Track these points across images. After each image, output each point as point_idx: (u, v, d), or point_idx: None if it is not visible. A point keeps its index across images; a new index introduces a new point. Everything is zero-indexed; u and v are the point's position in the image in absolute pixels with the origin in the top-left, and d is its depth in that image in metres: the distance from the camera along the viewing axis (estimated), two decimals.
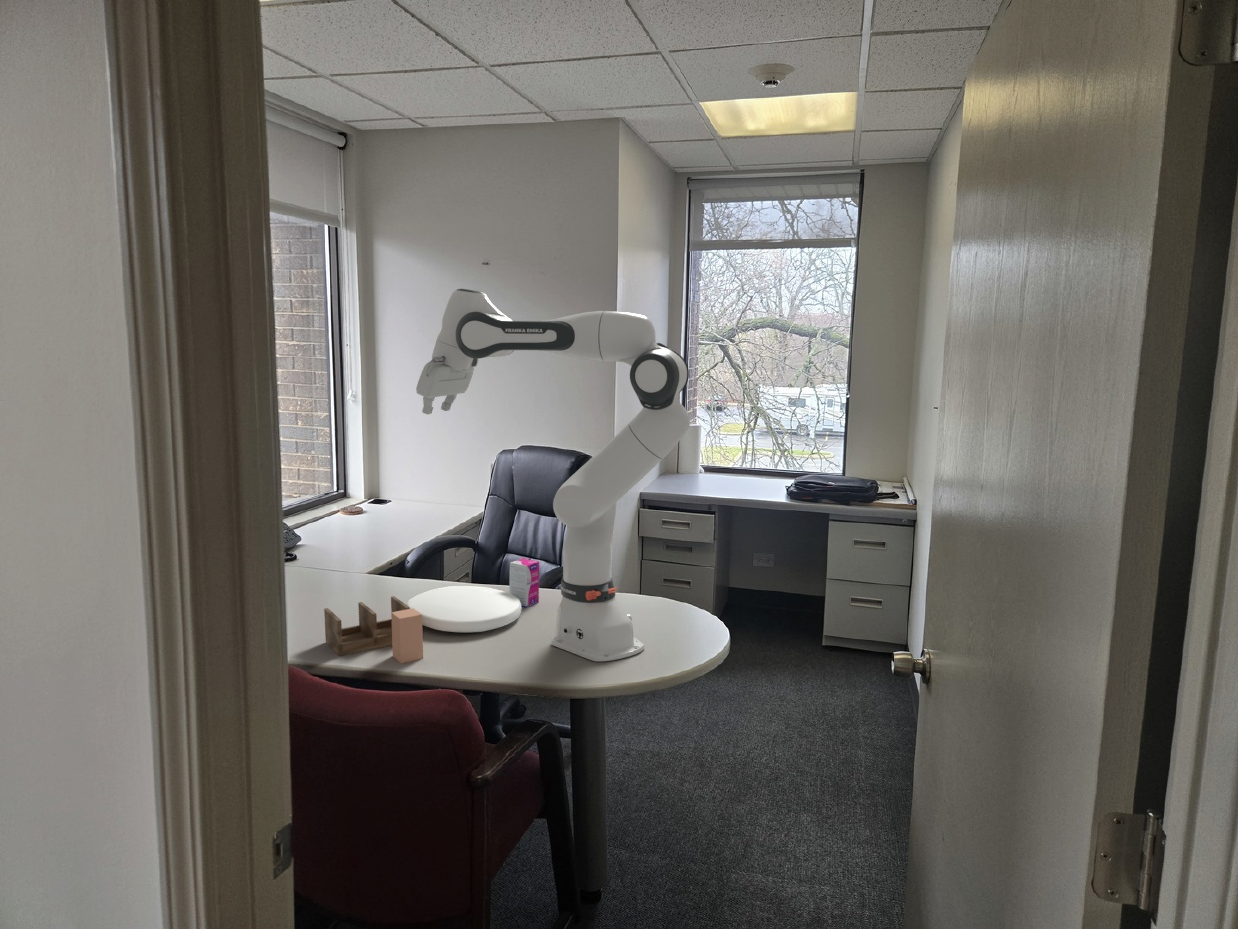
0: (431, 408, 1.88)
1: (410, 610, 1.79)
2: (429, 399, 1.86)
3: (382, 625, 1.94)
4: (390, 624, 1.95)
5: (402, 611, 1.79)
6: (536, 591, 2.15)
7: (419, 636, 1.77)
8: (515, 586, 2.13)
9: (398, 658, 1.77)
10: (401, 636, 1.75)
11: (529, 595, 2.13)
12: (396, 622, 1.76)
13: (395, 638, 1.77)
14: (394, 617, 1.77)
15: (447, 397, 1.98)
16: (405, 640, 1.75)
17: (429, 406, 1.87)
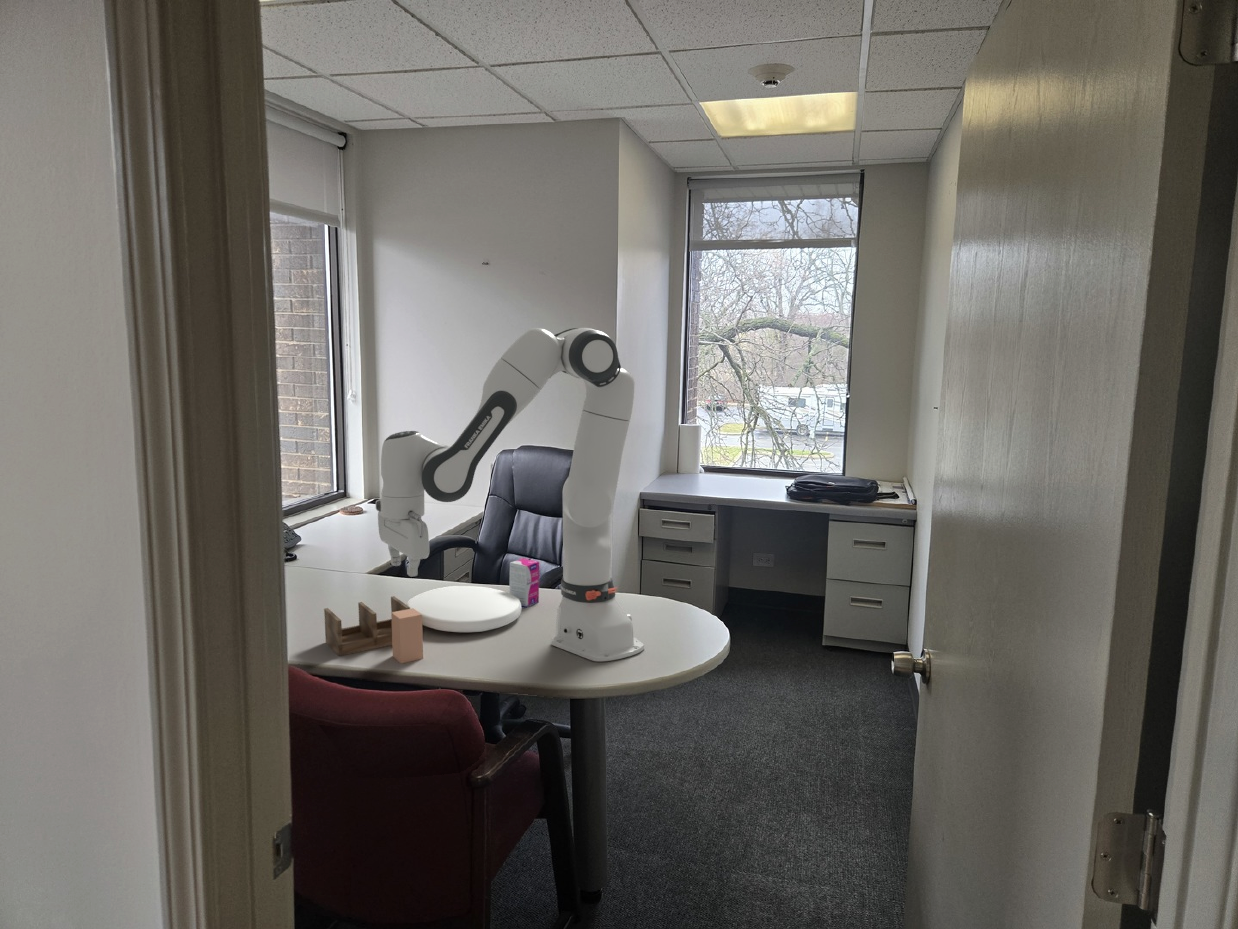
0: None
1: (410, 610, 1.79)
2: (417, 559, 1.71)
3: (382, 625, 1.94)
4: (390, 624, 1.95)
5: (402, 611, 1.79)
6: (536, 591, 2.15)
7: (419, 636, 1.77)
8: (515, 586, 2.13)
9: (398, 658, 1.77)
10: (401, 636, 1.75)
11: (529, 595, 2.13)
12: (396, 622, 1.76)
13: (395, 638, 1.77)
14: (394, 617, 1.77)
15: (391, 551, 1.80)
16: (405, 640, 1.75)
17: (416, 566, 1.71)
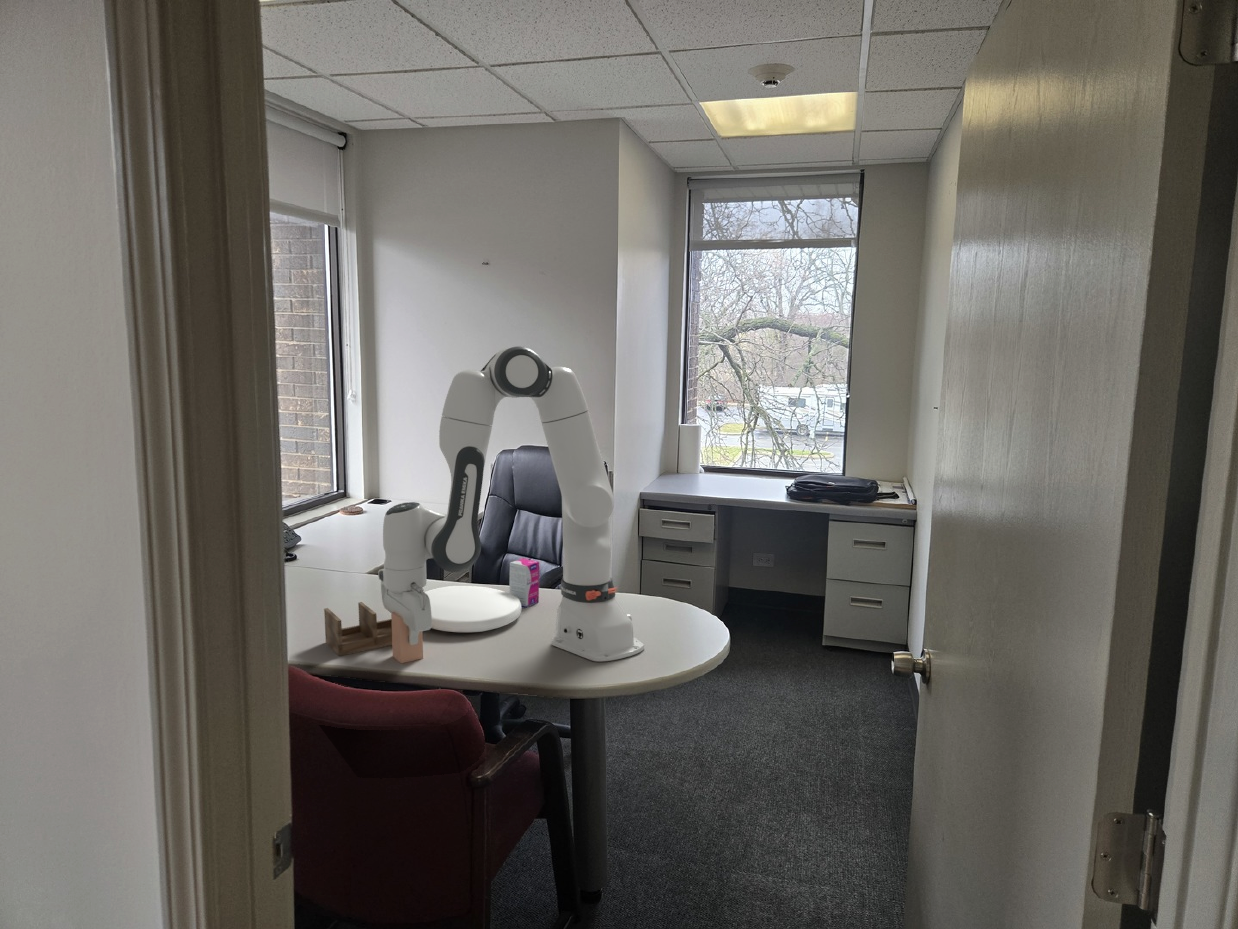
0: None
1: None
2: None
3: (382, 625, 1.94)
4: (390, 624, 1.95)
5: None
6: (536, 591, 2.15)
7: (419, 636, 1.77)
8: (515, 586, 2.13)
9: (398, 658, 1.77)
10: (401, 636, 1.75)
11: (529, 595, 2.13)
12: (396, 622, 1.76)
13: (395, 638, 1.77)
14: (394, 617, 1.77)
15: None
16: (405, 640, 1.75)
17: (417, 635, 1.75)
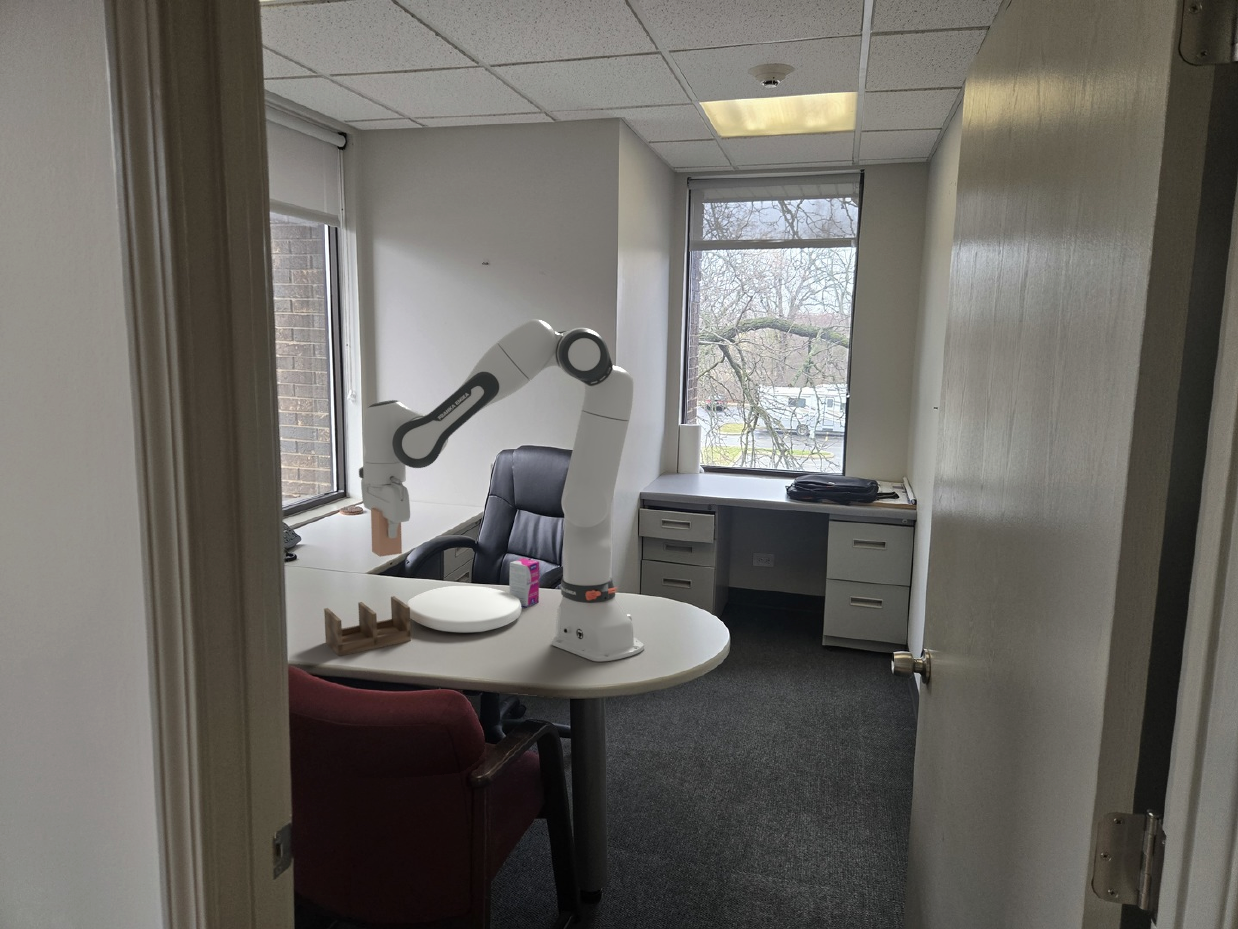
0: None
1: None
2: None
3: (382, 625, 1.94)
4: (390, 624, 1.95)
5: None
6: (536, 591, 2.15)
7: (398, 531, 1.82)
8: (515, 586, 2.13)
9: (377, 552, 1.81)
10: (380, 529, 1.79)
11: (529, 595, 2.13)
12: (376, 517, 1.80)
13: (374, 533, 1.82)
14: (373, 512, 1.81)
15: None
16: (384, 534, 1.80)
17: (396, 529, 1.80)
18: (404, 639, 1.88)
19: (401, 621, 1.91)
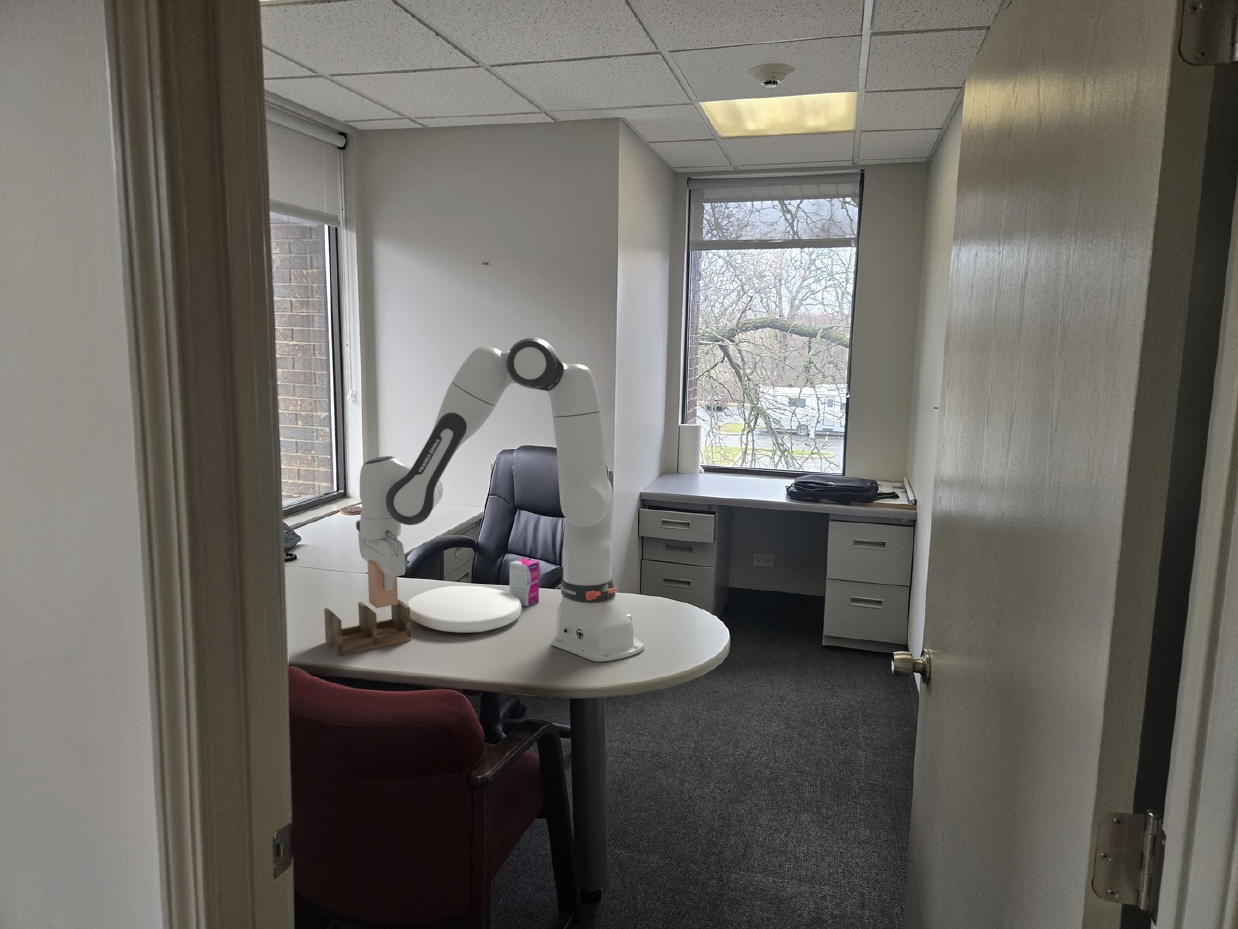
0: None
1: None
2: None
3: (382, 625, 1.94)
4: (390, 624, 1.95)
5: None
6: (536, 591, 2.15)
7: (394, 583, 1.87)
8: (515, 586, 2.13)
9: (374, 603, 1.87)
10: (376, 582, 1.85)
11: (529, 595, 2.13)
12: (372, 569, 1.86)
13: (371, 584, 1.87)
14: (370, 564, 1.87)
15: None
16: (380, 586, 1.85)
17: (392, 581, 1.85)
18: (404, 639, 1.88)
19: (401, 621, 1.91)
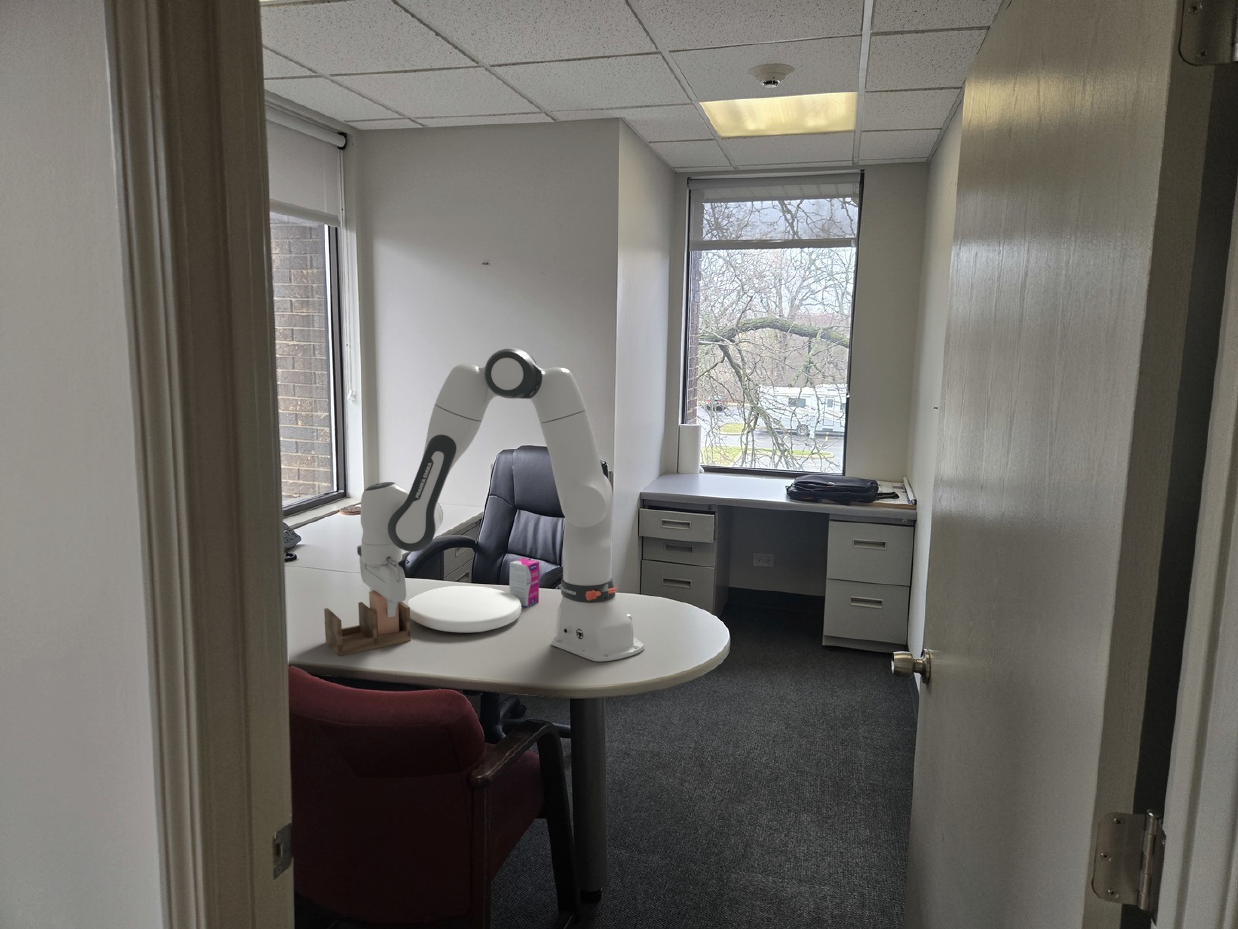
0: None
1: None
2: (395, 601, 1.84)
3: None
4: None
5: None
6: (536, 591, 2.15)
7: None
8: (515, 586, 2.13)
9: None
10: (378, 613, 1.86)
11: (529, 595, 2.13)
12: (374, 601, 1.87)
13: None
14: (371, 596, 1.88)
15: None
16: (382, 618, 1.86)
17: (394, 607, 1.85)
18: (404, 639, 1.88)
19: (401, 621, 1.91)
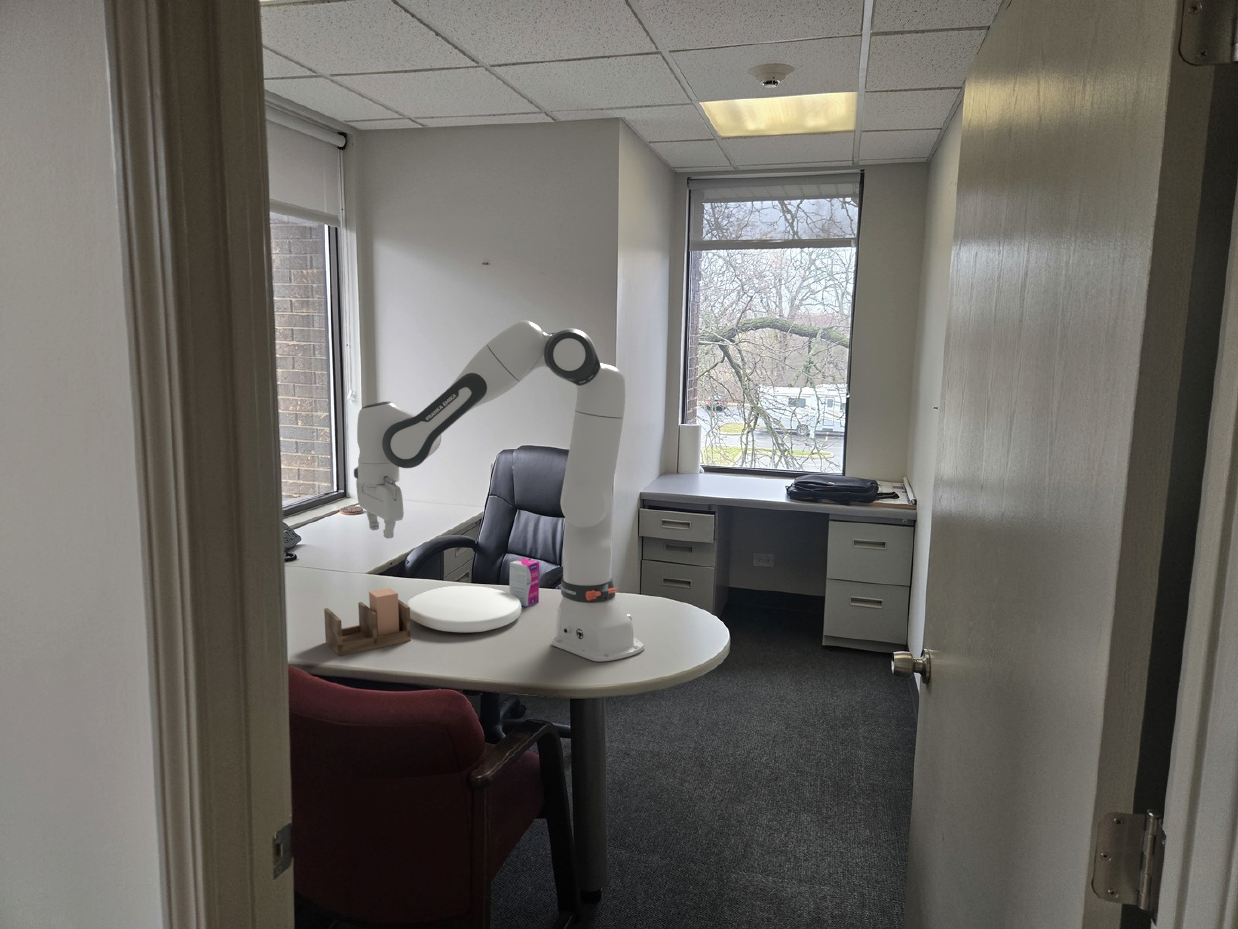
0: None
1: (387, 590, 1.90)
2: (393, 522, 1.81)
3: None
4: None
5: (379, 590, 1.90)
6: (536, 591, 2.15)
7: (395, 614, 1.88)
8: (515, 586, 2.13)
9: None
10: (378, 613, 1.86)
11: (529, 595, 2.13)
12: (374, 601, 1.87)
13: None
14: (371, 596, 1.88)
15: (370, 516, 1.90)
16: (382, 618, 1.86)
17: (392, 529, 1.82)
18: (404, 639, 1.88)
19: (401, 621, 1.91)
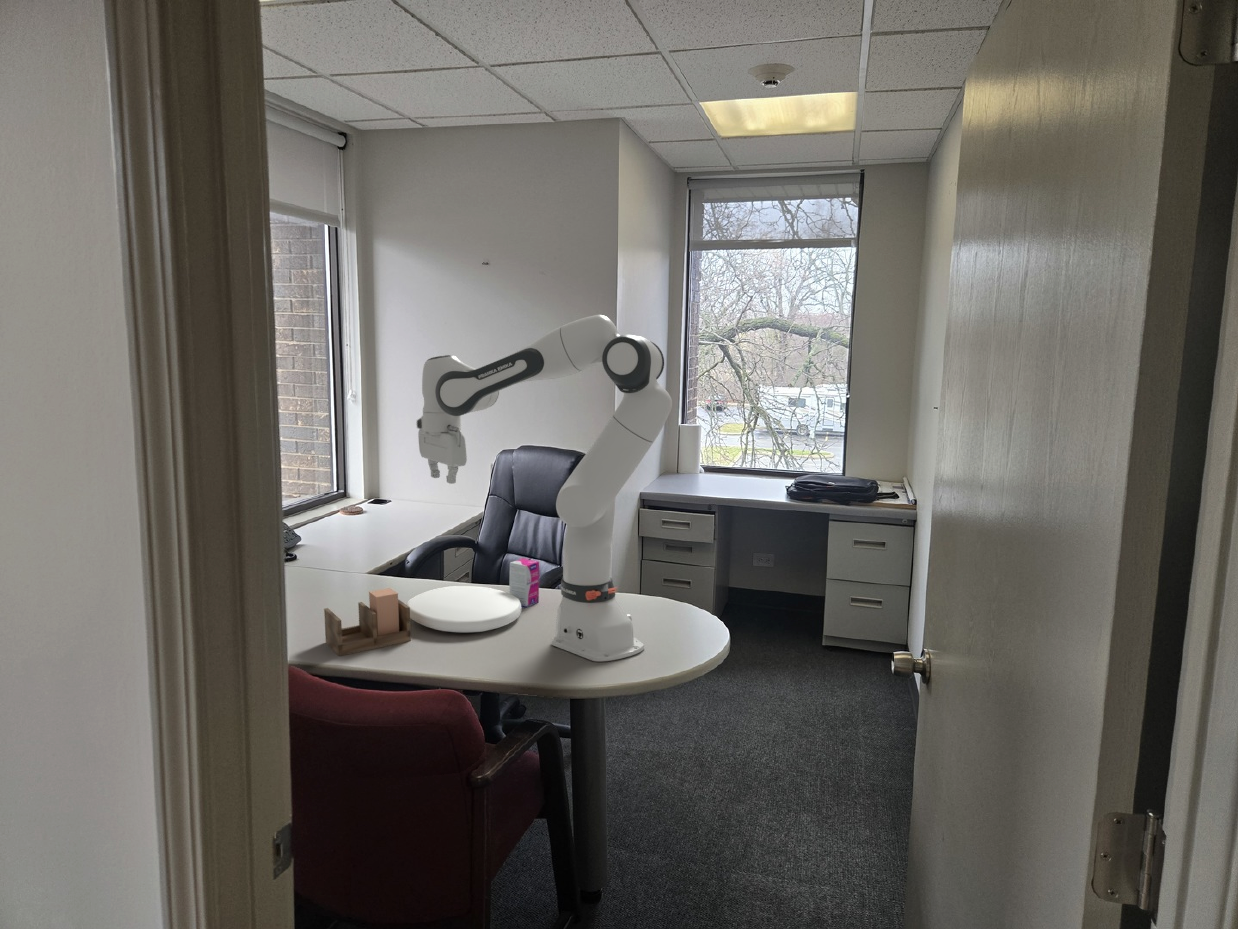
0: None
1: (387, 590, 1.90)
2: (456, 468, 1.92)
3: None
4: None
5: (379, 590, 1.90)
6: (536, 591, 2.15)
7: (395, 614, 1.88)
8: (515, 586, 2.13)
9: None
10: (378, 613, 1.86)
11: (529, 595, 2.13)
12: (374, 601, 1.87)
13: None
14: (371, 596, 1.88)
15: (431, 465, 2.02)
16: (382, 618, 1.86)
17: (455, 475, 1.93)
18: (404, 639, 1.88)
19: (401, 621, 1.91)
